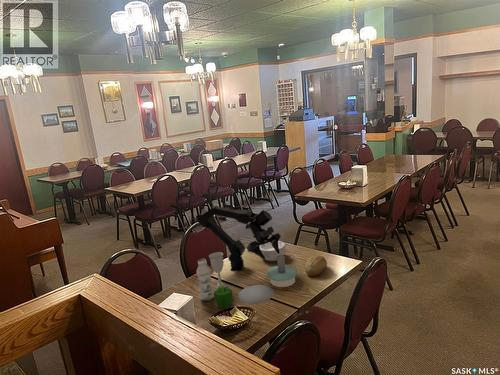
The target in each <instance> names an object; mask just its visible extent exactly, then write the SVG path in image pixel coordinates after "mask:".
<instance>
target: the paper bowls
mask: <svg viewBox="0 0 500 375" xmlns="http://www.w3.org/2000/svg"><path fill="white" fill-rule="evenodd" d="M278 247H279V252H280V253H279V254H278V253H277V252H276V251H275V249H274V248H273V246H272V243H271V242H268V243H266V244H263V245H260V250H261V252H262V253H263V255H264V257H265V260H266V261H268V262H276V261H277V256H279V255H283V256H284V255H285V254H286V252H287V251H286V243H285V242H283V241H281V240H279V241H278Z"/></svg>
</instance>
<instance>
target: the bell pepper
mask: <svg viewBox="0 0 500 375" xmlns="http://www.w3.org/2000/svg"><path fill="white" fill-rule="evenodd" d="M224 285H225V283H223V284H222V285H221V287H219V288H218V289H217V288H216V290H215V291H214V297H213V299H214V301H215V303H216V306H217V308H219V309H225V308H230V307H231V306H232V302H233V297H234V296H233V291H232V289H231V288H229V287H228V286H226V285H225V287H224Z"/></svg>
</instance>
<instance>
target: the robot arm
mask: <svg viewBox="0 0 500 375" xmlns="http://www.w3.org/2000/svg"><path fill="white" fill-rule="evenodd" d="M214 215H216V216H221V217H226V218H230V219H233V220H236V221H237V222H238V223H241V224H243V225H245V230H246V229H247V230H248V229H250V231H251V233H252V235H253V236H252V237H253V239H255V240H253V241H251V242H249V243H248V245H247V247H245V245H244V243H242V242H241V240H240V239H237V240H235V239H233V238H232V237H231V236H230V235H229V234H228V233H227V232H226V231H224V230H223V228H222V227H220V226H219V225H218V223H217V222H216V221H215V219H214V217H213V216H214ZM271 220H273V216H272V215H271V213H269V212H268V211H266V210H264V209H262V210H261V211H260V212H259V213H254V212H252V211H251V210H247V209H245V210H243V209H242V210H241V209H240V210H235V209H231V208H226V207H221V206H218V205H213V206H212V207H210V209H208V211H206V210H205V211H203V212H201V213H200V214H199V215H198V216H197V217H196V221H197V223H198V224H199V225H201V226H202V227H203V228H207V229H209V230H210V231H211V232H212V233H213V234H214V235H215V236H216V237H217V238H218V239H219V240H220V241H221V242H222V243H223V244H224V245H225V246H226V247H227V249H228V251H229V253H230V254H229V256H228V257H227V259H228V260H229V262H230V267H231V268H230V271H242V270H243V269H244V267H245V261H244V259H243V256H242V255H244V253H245V251H247V252H248V253H251V254H253V253H254V254H255V255H257V256H258V257H260V258H261V259H262V260H263V261H264V260H266V259H265V257H264V255H263V253H262V252H261V250H260V245H263V244H266V243H268V242H271V243H272V246H273V248H274V249H275V251H276V252H277V253H278V254H279V253H280V252H279V247H278V241H280V239H281V237H282V236H281V235H280V233H278V232H277V233H274V228H273V227H272V226H269V227H267V229H265V228H263V227H264V226H265V227H266V225H267V224H268V223H269V222H270V221H271ZM246 249H247V250H246Z"/></svg>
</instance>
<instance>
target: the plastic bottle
mask: <svg viewBox="0 0 500 375" xmlns="http://www.w3.org/2000/svg"><path fill="white" fill-rule="evenodd" d="M197 265H198V267H197V268H196V276H197V279H198V282H199V297H200V299H201V300H202V301H203V302H208V301H211V300H212V299H214V292H215V291H214V288H213V284H212V279H211V277H212V276H211V271H212V270H211V268H210V266H209V265H208V264H207V259H206V258H200V259H198V260H197Z"/></svg>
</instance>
